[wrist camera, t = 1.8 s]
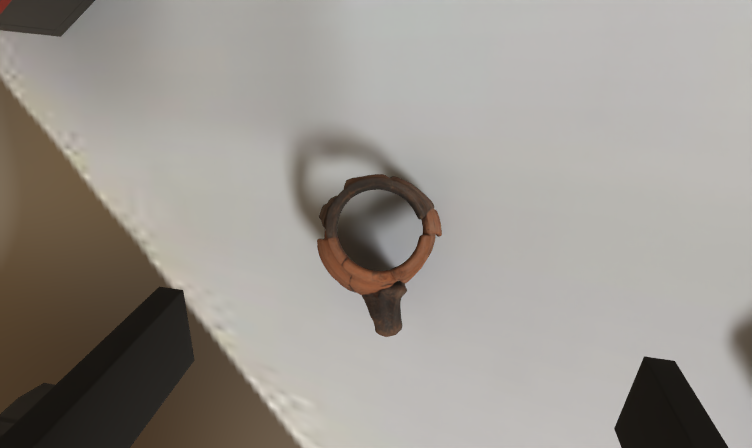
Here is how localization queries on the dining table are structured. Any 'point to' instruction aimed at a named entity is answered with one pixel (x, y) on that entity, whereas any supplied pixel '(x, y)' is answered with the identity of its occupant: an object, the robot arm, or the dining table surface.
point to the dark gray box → (42, 16)
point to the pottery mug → (373, 285)
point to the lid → (4, 4)
